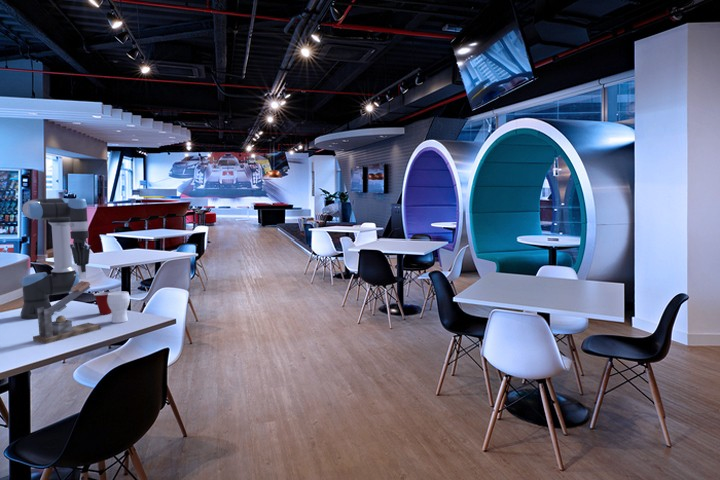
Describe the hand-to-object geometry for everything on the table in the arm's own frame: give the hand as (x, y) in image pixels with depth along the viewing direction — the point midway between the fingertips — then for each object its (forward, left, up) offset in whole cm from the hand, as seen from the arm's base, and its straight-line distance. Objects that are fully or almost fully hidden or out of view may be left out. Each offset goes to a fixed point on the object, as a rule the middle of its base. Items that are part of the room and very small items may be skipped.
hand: (82, 278), depth 230 cm
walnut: (0, -11, -18) cm, 21 cm away
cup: (0, +19, -26) cm, 32 cm away
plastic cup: (-22, +26, -26) cm, 43 cm away
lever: (0, -7, -11) cm, 13 cm away
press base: (0, -8, -26) cm, 27 cm away
